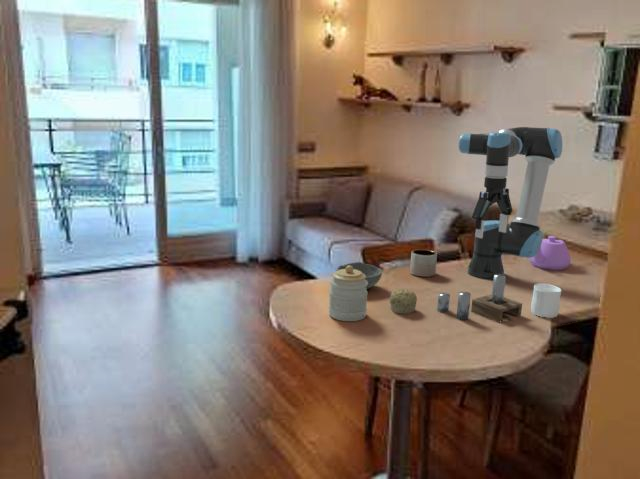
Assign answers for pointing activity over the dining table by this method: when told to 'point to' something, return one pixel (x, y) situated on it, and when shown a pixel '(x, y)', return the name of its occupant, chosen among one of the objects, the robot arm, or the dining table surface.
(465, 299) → the medium pin
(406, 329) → the dining table surface
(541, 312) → the cup
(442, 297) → the short pin
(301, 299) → the dining table surface
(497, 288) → the long pin
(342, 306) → the jar
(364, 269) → the bowl
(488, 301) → the block
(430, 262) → the planter
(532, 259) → the teapot
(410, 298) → the decorative item
